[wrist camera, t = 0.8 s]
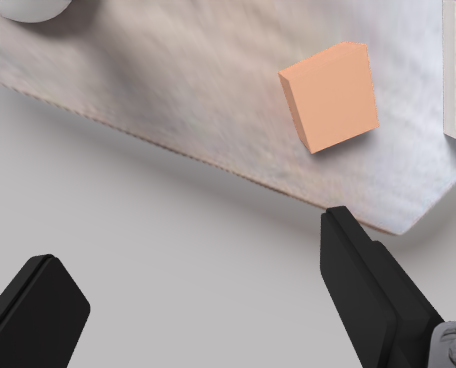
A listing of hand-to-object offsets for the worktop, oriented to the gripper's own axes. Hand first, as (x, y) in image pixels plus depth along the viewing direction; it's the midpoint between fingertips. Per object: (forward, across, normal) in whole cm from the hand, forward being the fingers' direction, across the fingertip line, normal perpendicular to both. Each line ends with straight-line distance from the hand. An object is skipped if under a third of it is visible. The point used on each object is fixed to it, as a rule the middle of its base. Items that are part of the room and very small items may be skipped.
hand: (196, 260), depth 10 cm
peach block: (+23, -12, +1) cm, 26 cm away
